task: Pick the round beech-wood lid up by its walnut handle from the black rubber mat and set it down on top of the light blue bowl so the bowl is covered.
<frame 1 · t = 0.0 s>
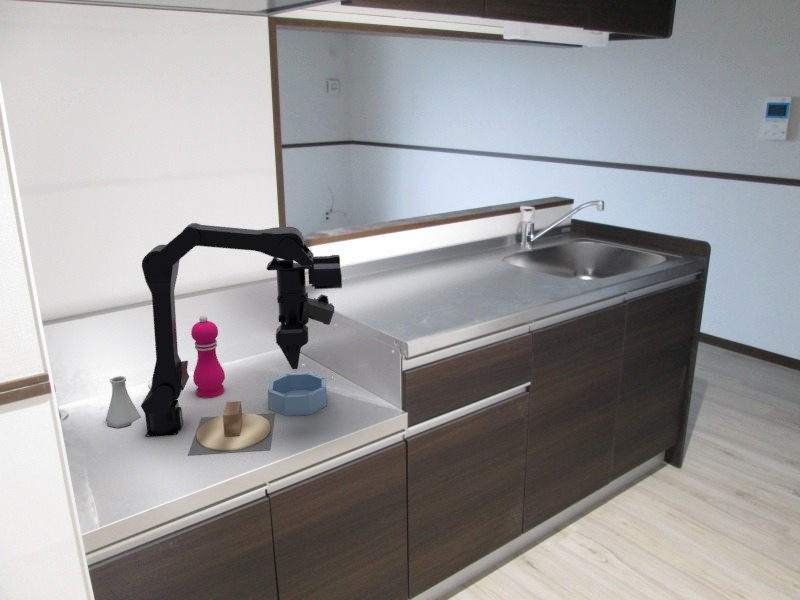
hand: (295, 360, 135), 15 cm above the table, tool pointing down, fingers open, 9 cm apart
pepper mill: (210, 395, 153), on the table
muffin: (163, 397, 151), on the table
flask: (123, 421, 140), on the table
lid: (234, 433, 133), point 1 cm above the table, touching mat
bowl: (298, 404, 148), on the table
mat: (234, 435, 134), on the table
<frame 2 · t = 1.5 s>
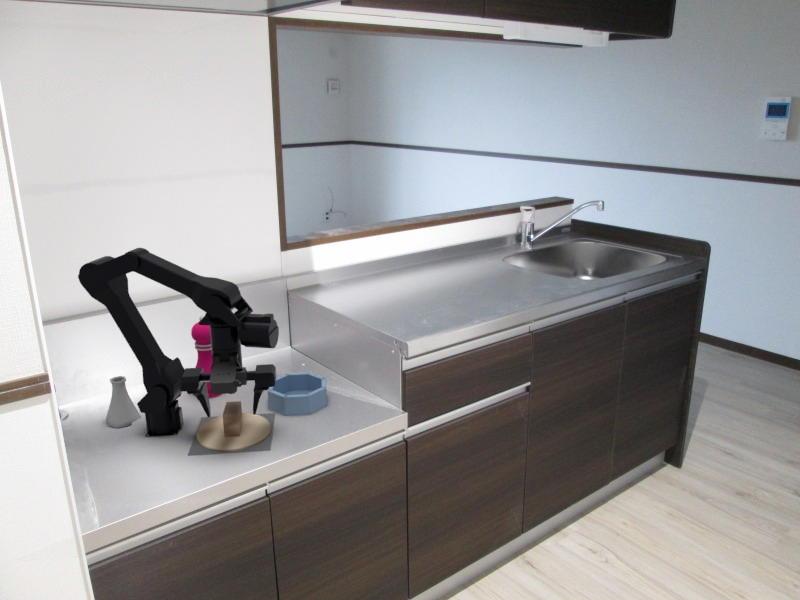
hand: (232, 415, 132), 5 cm above the table, tool pointing down, fingers open, 9 cm apart
nothing on the table moved.
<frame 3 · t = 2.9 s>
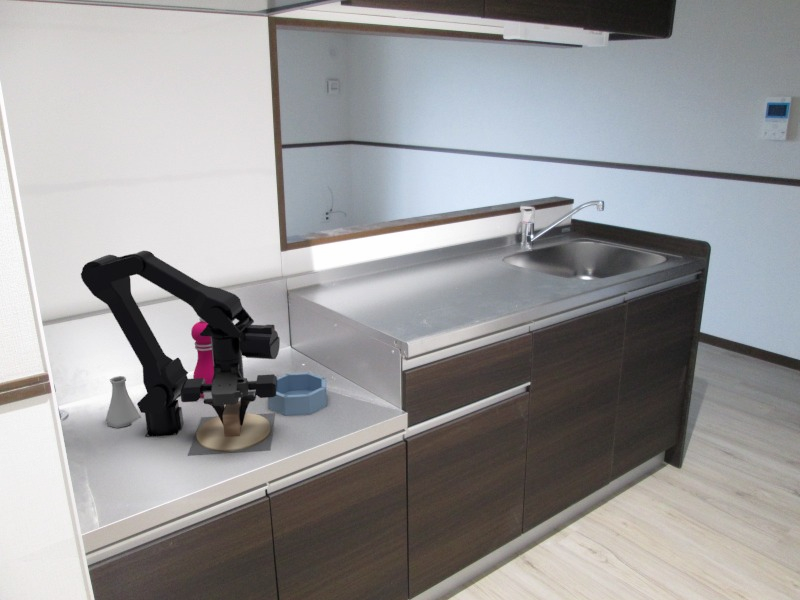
hand: (233, 425, 133), 2 cm above the table, tool pointing down, fingers closed on lid, 3 cm apart
lid: (234, 432, 133), point 1 cm above the table, touching gripper, mat
everything else where it was.
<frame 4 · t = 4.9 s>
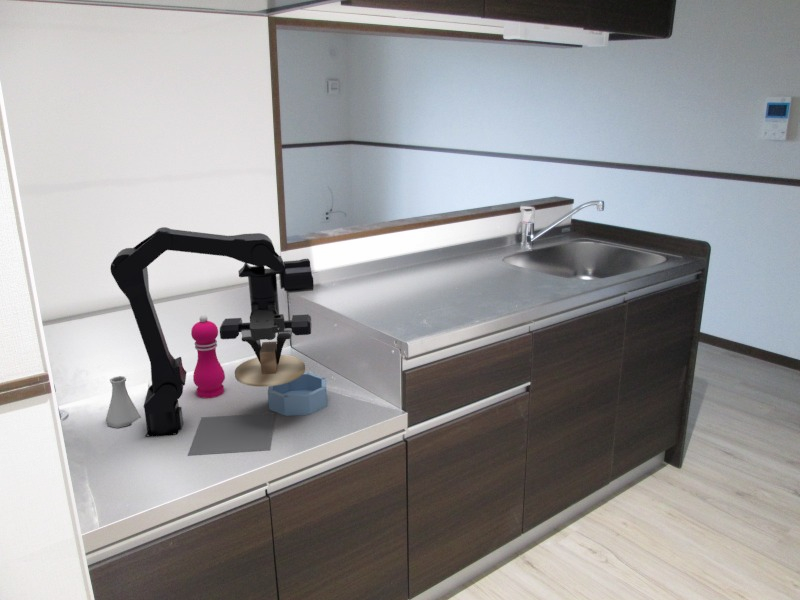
hand: (269, 363, 137), 13 cm above the table, tool pointing down, fingers closed on lid, 3 cm apart
lid: (270, 371, 138), point 11 cm above the table, touching gripper
everything else where it was.
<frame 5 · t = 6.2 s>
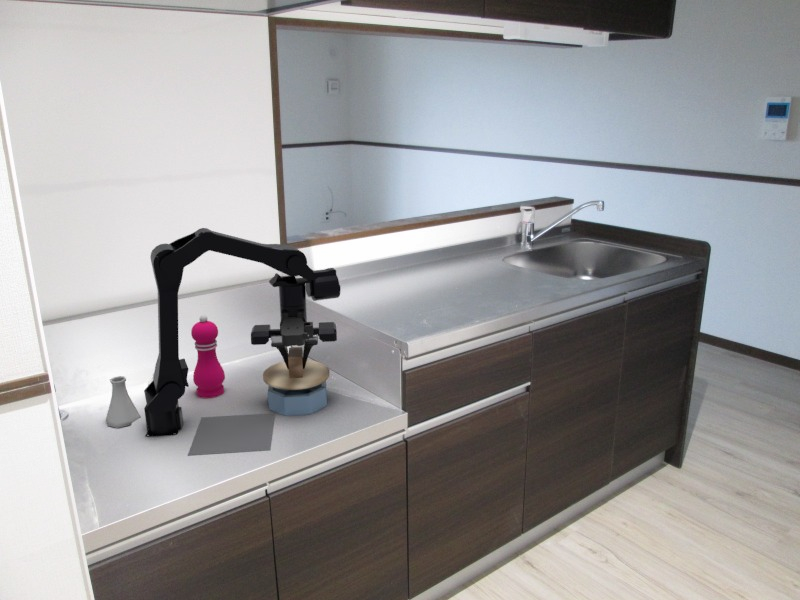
hand: (296, 368, 145), 9 cm above the table, tool pointing down, fingers closed on lid, 3 cm apart
lid: (296, 375, 145), point 7 cm above the table, touching gripper
everything else where it was.
when the fingers open (8 cm above the table, at t = 7.1 s): lid drops 1 cm, resting on bowl.
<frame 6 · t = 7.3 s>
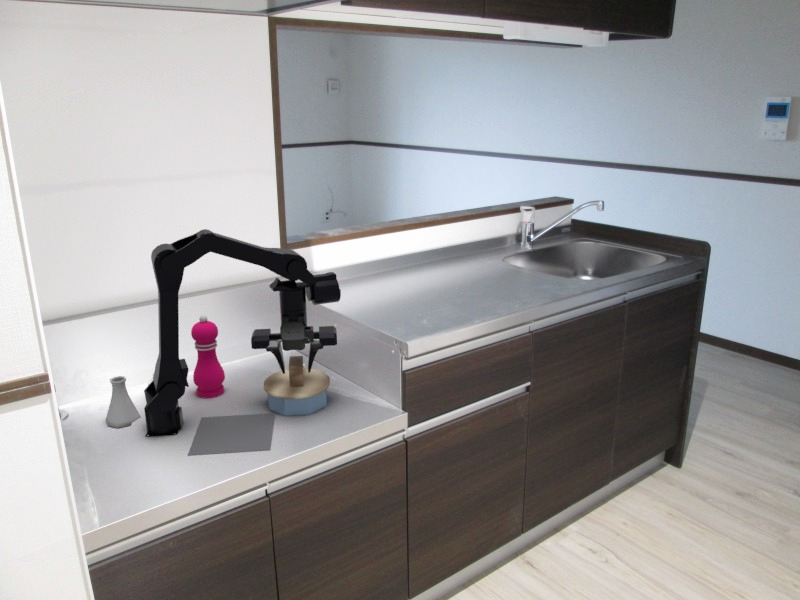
hand: (296, 372, 145), 8 cm above the table, tool pointing down, fingers open, 5 cm apart
lid: (297, 384, 146), point 5 cm above the table, touching bowl
everything else where it was.
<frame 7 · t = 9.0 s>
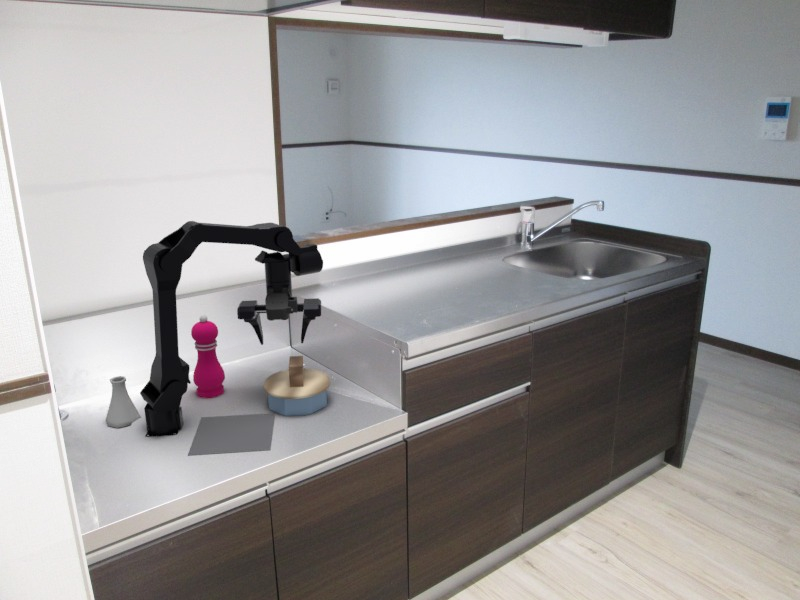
hand: (282, 343, 149), 13 cm above the table, tool pointing down, fingers open, 9 cm apart
nothing on the table moved.
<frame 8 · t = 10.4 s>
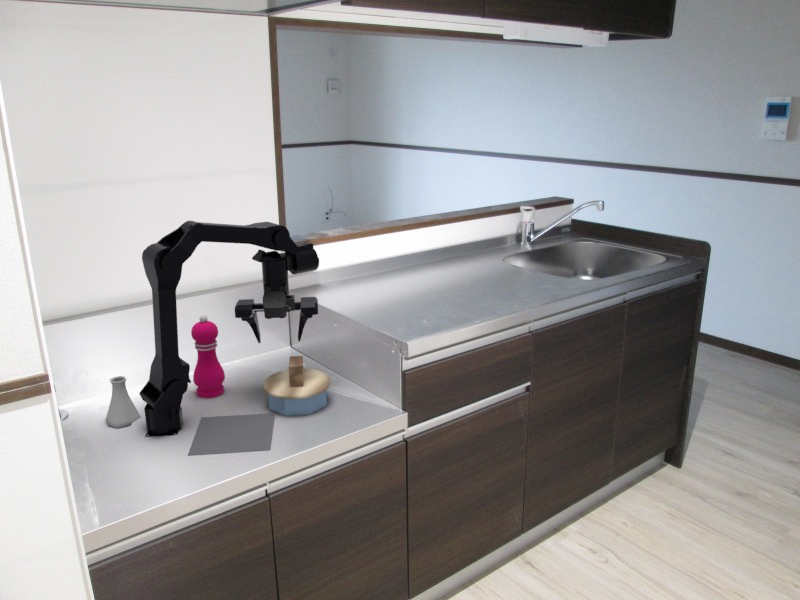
hand: (279, 341, 150), 13 cm above the table, tool pointing down, fingers open, 9 cm apart
nothing on the table moved.
at the end: lid 0.1 cm off-centre on the bowl, point 5.0 cm above the bowl's base; lid tilted 0°; the gripper is holding nothing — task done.
